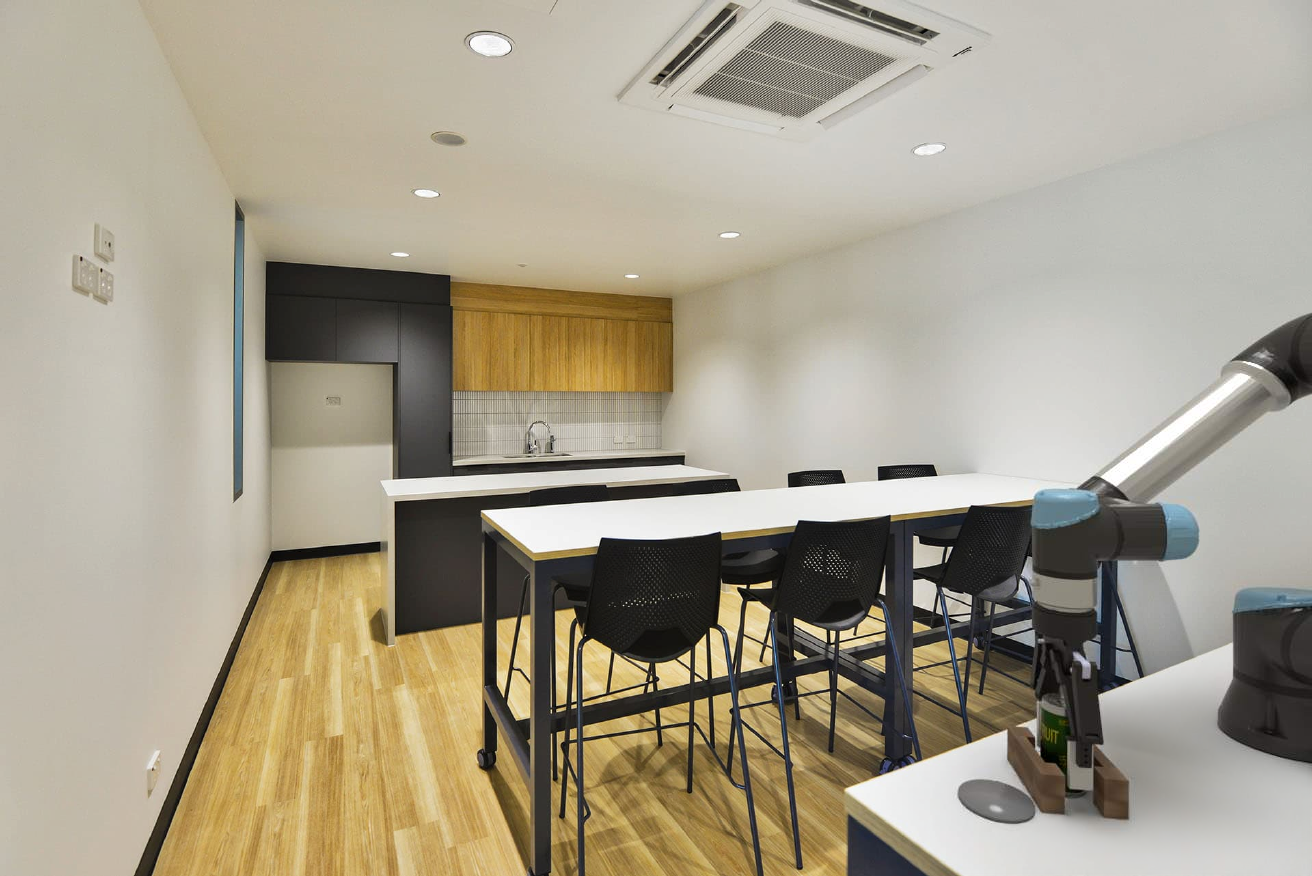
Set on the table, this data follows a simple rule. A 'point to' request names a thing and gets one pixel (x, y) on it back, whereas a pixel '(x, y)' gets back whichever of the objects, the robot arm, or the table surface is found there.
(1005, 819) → the coaster
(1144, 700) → the table surface
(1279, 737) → the robot arm
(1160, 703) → the table surface
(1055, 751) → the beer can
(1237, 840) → the table surface
